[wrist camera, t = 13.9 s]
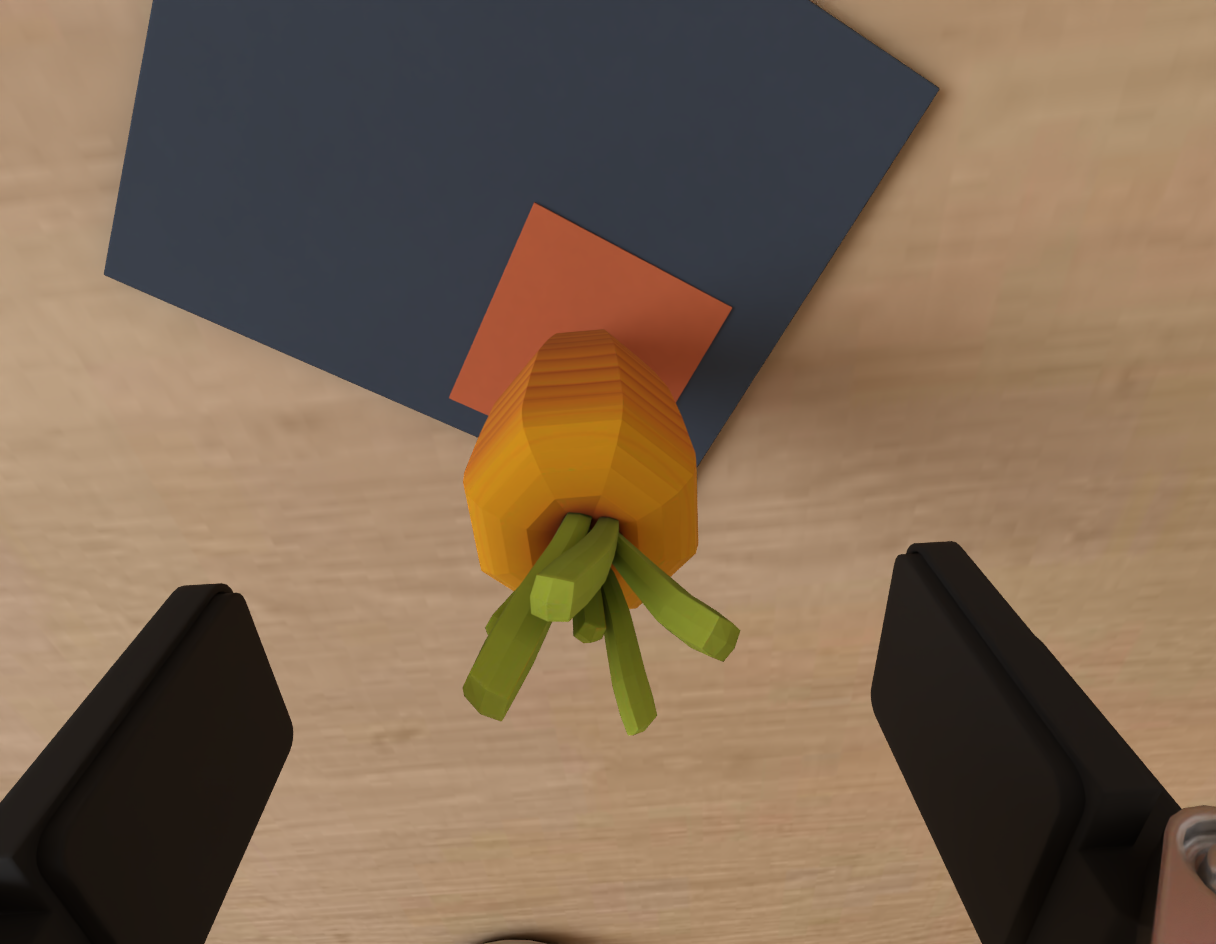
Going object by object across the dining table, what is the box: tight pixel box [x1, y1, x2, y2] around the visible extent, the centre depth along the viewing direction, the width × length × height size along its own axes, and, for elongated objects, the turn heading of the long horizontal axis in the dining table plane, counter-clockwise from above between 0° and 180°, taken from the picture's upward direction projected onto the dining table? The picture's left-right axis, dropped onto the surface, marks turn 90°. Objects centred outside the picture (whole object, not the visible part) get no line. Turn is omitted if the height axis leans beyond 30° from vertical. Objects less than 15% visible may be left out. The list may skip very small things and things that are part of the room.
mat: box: [104, 0, 939, 468], centre depth 21 cm, size 20×16×1 cm
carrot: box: [463, 329, 740, 735], centre depth 16 cm, size 5×5×15 cm
